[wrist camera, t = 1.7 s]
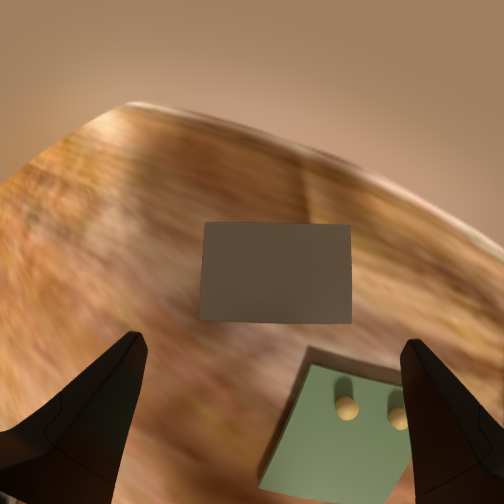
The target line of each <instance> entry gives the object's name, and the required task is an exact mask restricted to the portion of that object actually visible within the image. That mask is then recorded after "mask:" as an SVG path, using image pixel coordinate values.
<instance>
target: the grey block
mask: <svg viewBox="0 0 504 504" xmlns="http://www.w3.org/2000/svg"><path fill="white" fill-rule="evenodd" d="M199 320H210V321H227V322H248V323H278V324H351V320H352V262H351V234H350V225H337V224H303V223H249V222H205V230H204V243H203V256H202V271H201V287H200V305H199Z"/></svg>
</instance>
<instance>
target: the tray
mask: <svg viewBox="0 0 504 504" xmlns="http://www.w3.org/2000/svg"><path fill="white" fill-rule="evenodd" d="M411 457H412V453H411V445H410V437H409V430H408V424H407V417H406V411H405V405H404V399H403V388H402V386H401V385H397V384H392V383H388V382H384V381H379V380H375V379H371V378H367V377H363V376H359V375H355V374H351V373H347V372H344V371H340V370H336V369H333V368H329V367H326V366H322V365H319V364H315V363H312V362H310V363H309V366H308V368H307V371H306V374H305V376H304V379H303V381H302V384H301V387H300V389H299V392H298V394H297V397H296V399H295V402H294V404H293V407H292V409H291V411H290V414H289V416H288V419H287V421H286V423H285V426H284V428H283V430H282V432H281V435H280V437H279V439H278V441H277V444H276V446H275V448H274V450H273V452H272V455H271V457H270V459H269V461H268V463H267V465H266V467H265V469H264V471H263V473H262V475H261V477H260V479H259V483H258V488H260V489H263V490H267V491H271V492H275V493H280V494H284V495H289V496H294V497H299V498H304V499H310V500H316V501H322V502H329V503H337V504H384V503H385V501H386V500H387V498H388V497H389V495H390V494H391V492H392V490H393V489H394V487H395V486H396V484H397V482H398V480H399V479H400V477H401V475H402V474H403V472H404V470H405V468H406V466H407V465H408V463H409V461H410V459H411Z"/></svg>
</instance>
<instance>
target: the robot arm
mask: <svg viewBox="0 0 504 504" xmlns="http://www.w3.org/2000/svg"><path fill="white" fill-rule="evenodd" d="M147 354H148V348H147V345H146V343H145V340H144V338H143V336H142V334H141V333H140V332H136V331H129V332H128V333H126V334H125V335H124V336H123V337H122V338H121V339H119V340H118V341H117V342H116V343H115V344H114V345H112V346H111V347H110V348H109V349H108V350H107V351H106V352H104V353H103V354H102V355H101V356H100V357H99V358H97V359H96V360H95V361H94V362H93V363H92V364H91V365H89V366H88V367H87V368H86V369H85V370H84V371H83V372H81V373H80V374H79V375H78V376H77V377H76V378H75V379H73V380H72V381H71V382H70V383H69V384H68V385H67V386H66V387H64V388H63V389H62V391H60V392H59V393H58V394H56V395H55V396H54V397H53V398H52V399H51V400H49V401H48V402H47V403H46V404H45V405H43V406H42V407H41V408H40V409H38V410H37V411H36V412H34V413H33V414H31V415H30V416H29V417H27V418H26V419H25V420H23V421H22V422H20V423H19V424H18V425H16V426H15V427H13V428H11V429H9V430H7V431H3V432H0V504H111V502H112V497H113V493H114V488H115V483H116V479H117V475H118V471H119V467H120V463H121V459H122V455H123V451H124V447H125V443H126V440H127V436H128V432H129V429H130V425H131V421H132V418H133V414H134V411H135V408H136V404H137V401H138V397H139V394H140V390H141V385H142V380H143V375H144V369H145V364H146V359H147ZM400 365H401V376H402V388H403V399H404V405H405V411H406V417H407V424H408V430H409V437H410V445H411V453H412V462H413V472H414V484H415V503H416V504H504V428H502V427H501V426H500V425H499V424H498V423H497V422H496V421H495V420H494V418H493V417H492V416H491V415H490V414H489V413H488V412H487V411H486V410H485V408H484V407H483V406H482V405H481V404H480V403H479V402H478V401H477V399H476V398H475V397H474V396H473V395H472V394H471V393H470V392H469V390H468V389H467V388H466V387H465V386H464V385H463V384H462V383H461V382H460V381H459V379H458V378H457V377H456V376H455V375H454V374H453V373H452V372H451V371H450V370H449V369H448V368H447V367H446V365H445V364H444V363H443V362H442V361H441V360H440V359H439V358H438V357H437V356H436V355H435V354H434V353H433V352H432V351H431V350H430V349H429V348H428V347H427V346H426V345H425V344H424V343H423V342H422V340H420V339H409V340H408V341H407V343H406V345H405V347H404V349H403V351H402V353H401V355H400Z"/></svg>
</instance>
